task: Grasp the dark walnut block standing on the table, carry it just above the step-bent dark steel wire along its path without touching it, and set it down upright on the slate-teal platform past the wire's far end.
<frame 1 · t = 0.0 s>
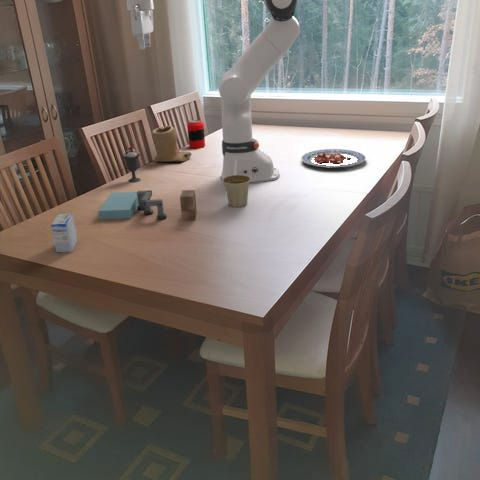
hand: (145, 48, 179), 48 cm above the table, fingers open, 8 cm apart
walnut block: (189, 217, 162), on the table
sundae: (134, 180, 199), on the table
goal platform: (121, 209, 171), on the table
soda can: (197, 147, 242), on the table
medicine box: (67, 247, 146), on the table
ceramic plate: (332, 163, 209), on the table
tan hollow bent piece: (171, 161, 222), on the table
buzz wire: (151, 213, 167), on the table
flower pot: (237, 204, 171), on the table
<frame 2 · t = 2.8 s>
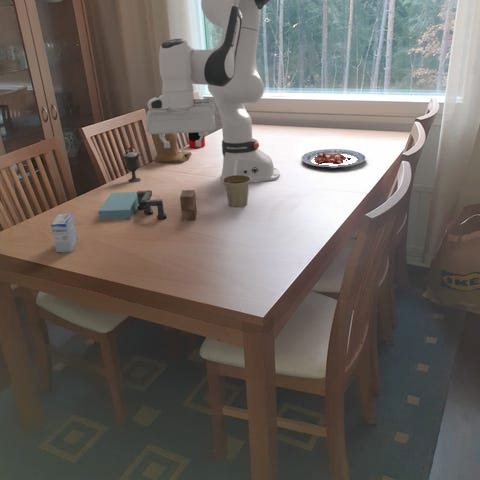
hand: (183, 147, 153), 22 cm above the table, fingers open, 8 cm apart
nothing on the table moved.
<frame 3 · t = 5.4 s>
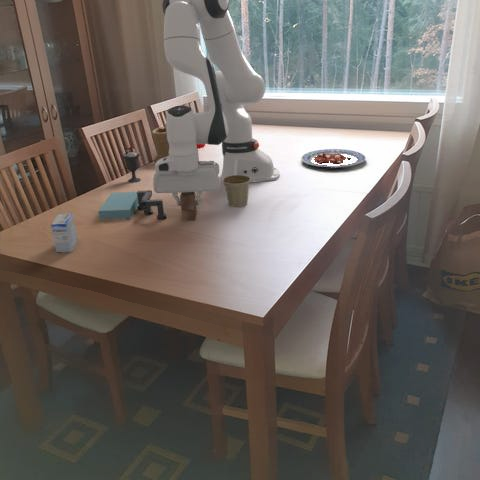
hand: (188, 204, 160), 4 cm above the table, fingers closed on walnut block, 4 cm apart
walnut block: (189, 216, 162), on the table, touching gripper
everything else where it was.
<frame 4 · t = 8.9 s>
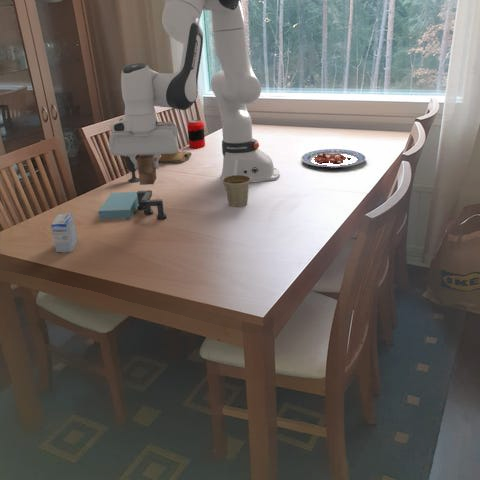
hand: (146, 168, 155), 16 cm above the table, fingers closed on walnut block, 4 cm apart
walnut block: (148, 181, 157), point 12 cm above the table, touching gripper
everything else where it was.
when the fingers open (9 cm above the table, at t = 12.9 s): walnut block drops 1 cm, resting on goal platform.
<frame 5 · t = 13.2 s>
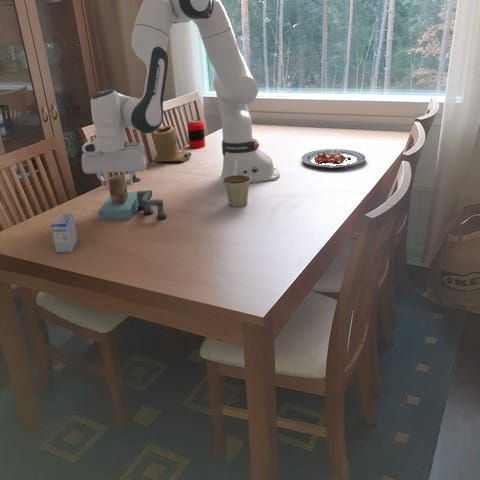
hand: (117, 184, 168), 9 cm above the table, fingers open, 7 cm apart
walnut block: (120, 201, 170), point 3 cm above the table, touching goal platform
everything else where it was.
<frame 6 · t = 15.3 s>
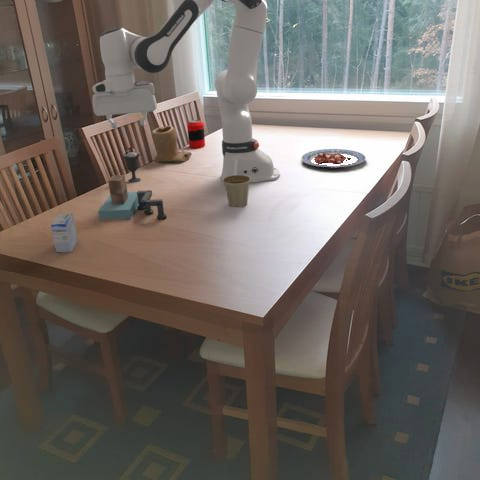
hand: (128, 126, 168), 26 cm above the table, fingers open, 8 cm apart
nothing on the table moved.
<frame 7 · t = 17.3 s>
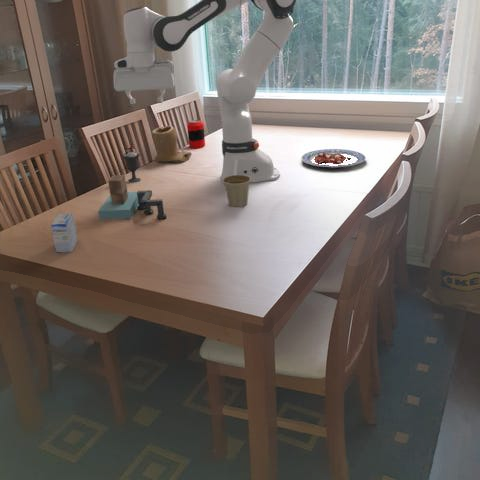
hand: (146, 103, 175), 31 cm above the table, fingers open, 8 cm apart
nothing on the table moved.
at the end: walnut block inside the target area on the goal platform (0.1 cm from its centre), point 3.0 cm above the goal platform's base; walnut block tilted 0°; walnut block touching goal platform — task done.
